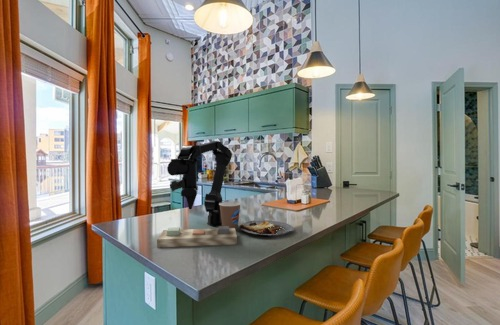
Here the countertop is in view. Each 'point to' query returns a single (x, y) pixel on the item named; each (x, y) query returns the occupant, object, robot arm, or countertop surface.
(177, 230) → the sage green cube
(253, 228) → the food plate
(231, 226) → the coffee cup
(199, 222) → the countertop surface
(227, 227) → the charcoal key
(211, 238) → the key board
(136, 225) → the countertop surface
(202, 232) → the terracotta key
